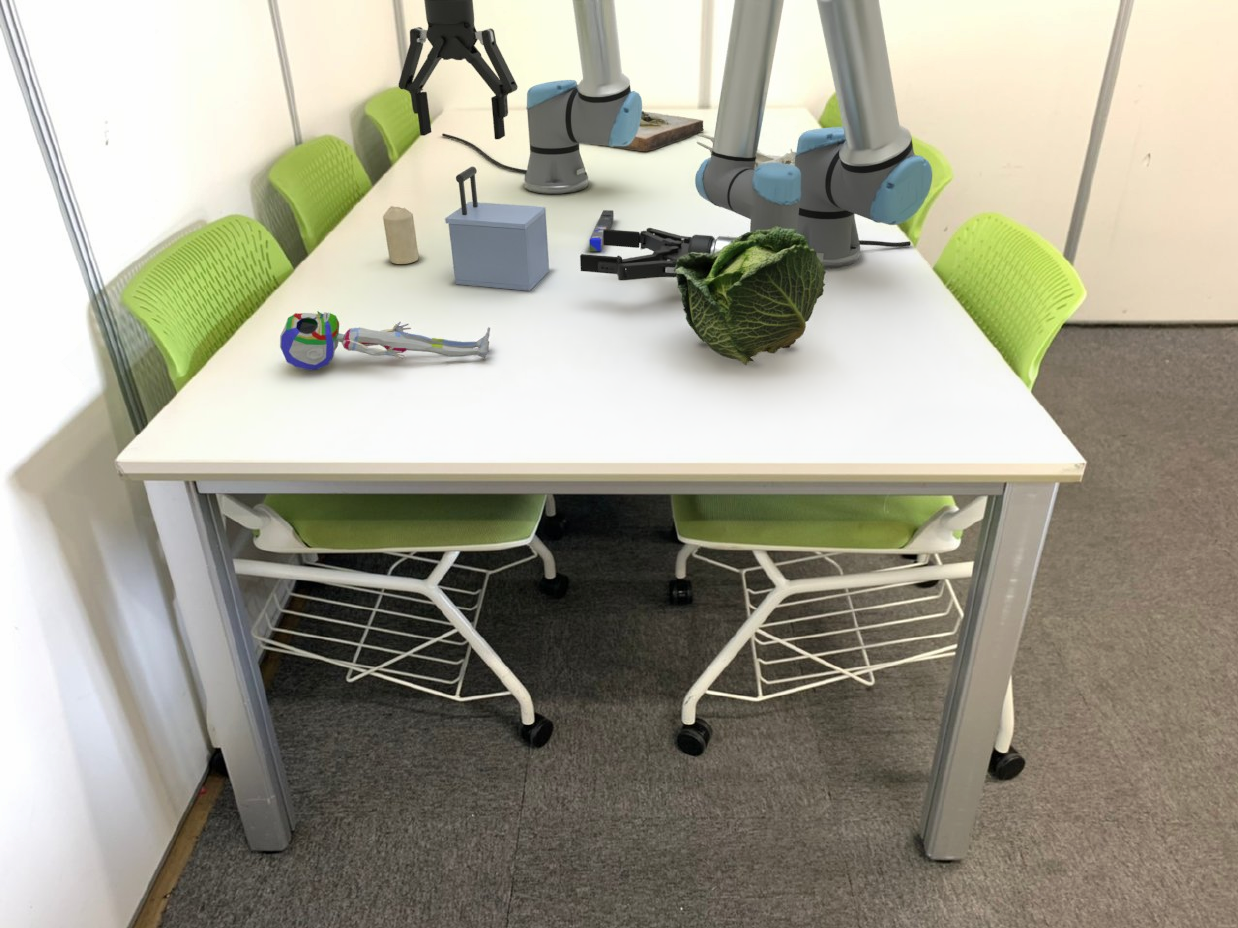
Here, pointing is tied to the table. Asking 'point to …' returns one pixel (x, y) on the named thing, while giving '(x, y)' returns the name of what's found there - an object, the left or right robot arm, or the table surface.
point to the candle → (400, 235)
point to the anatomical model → (761, 155)
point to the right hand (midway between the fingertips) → (592, 249)
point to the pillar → (601, 230)
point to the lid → (490, 209)
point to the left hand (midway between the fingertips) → (462, 136)
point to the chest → (500, 255)
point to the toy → (360, 341)
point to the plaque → (662, 131)
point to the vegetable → (751, 292)
